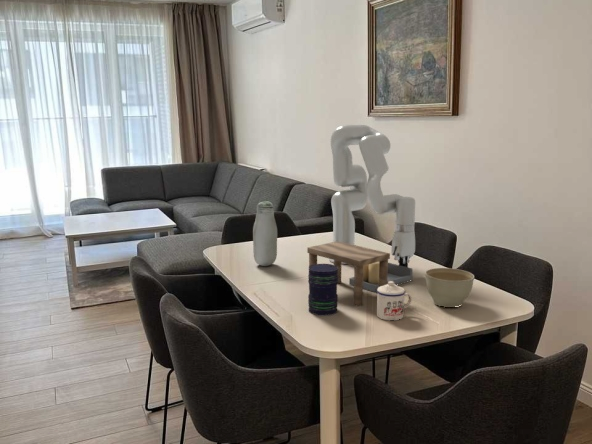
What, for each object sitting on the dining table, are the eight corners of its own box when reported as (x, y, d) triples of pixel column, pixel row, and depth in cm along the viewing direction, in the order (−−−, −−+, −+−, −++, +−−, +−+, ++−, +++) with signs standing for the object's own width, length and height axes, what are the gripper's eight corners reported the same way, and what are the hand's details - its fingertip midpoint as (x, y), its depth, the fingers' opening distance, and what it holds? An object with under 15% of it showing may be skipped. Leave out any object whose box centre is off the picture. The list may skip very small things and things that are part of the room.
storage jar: (315, 317, 184) (316, 272, 181) (303, 308, 193) (303, 265, 190) (342, 313, 188) (343, 269, 185) (329, 304, 197) (329, 262, 194)
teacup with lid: (383, 322, 179) (384, 287, 177) (371, 313, 188) (372, 279, 186) (417, 318, 183) (418, 283, 180) (404, 309, 191) (405, 276, 189)
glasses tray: (386, 273, 233) (387, 250, 231) (411, 280, 224) (412, 256, 222) (349, 284, 219) (349, 259, 217) (374, 292, 209) (375, 266, 208)
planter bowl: (464, 315, 185) (466, 283, 183) (417, 306, 194) (418, 276, 192) (477, 301, 199) (479, 271, 197) (433, 294, 207) (434, 265, 205)
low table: (337, 280, 224) (337, 241, 221) (388, 296, 205) (389, 253, 202) (307, 288, 214) (307, 247, 210) (358, 306, 194) (359, 261, 191)
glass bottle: (263, 269, 240) (263, 204, 234) (249, 264, 247) (248, 201, 242) (281, 265, 246) (281, 201, 241) (267, 261, 254) (266, 199, 248)
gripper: (408, 224, 234) (407, 267, 237) (385, 229, 224) (384, 273, 228) (423, 226, 228) (421, 270, 232) (400, 232, 219) (398, 277, 222)
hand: (403, 272), depth 230 cm, fingers closed
